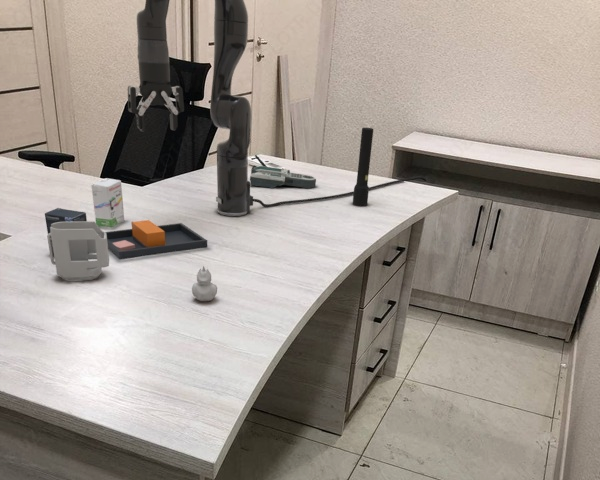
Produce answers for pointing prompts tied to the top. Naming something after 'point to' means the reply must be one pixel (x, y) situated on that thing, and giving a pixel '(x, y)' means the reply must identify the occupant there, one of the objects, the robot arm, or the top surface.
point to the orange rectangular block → (147, 234)
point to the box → (63, 218)
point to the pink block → (124, 245)
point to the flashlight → (363, 169)
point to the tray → (175, 240)
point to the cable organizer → (78, 249)
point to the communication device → (278, 177)
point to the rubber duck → (204, 286)
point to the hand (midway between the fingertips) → (158, 130)
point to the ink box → (108, 202)
